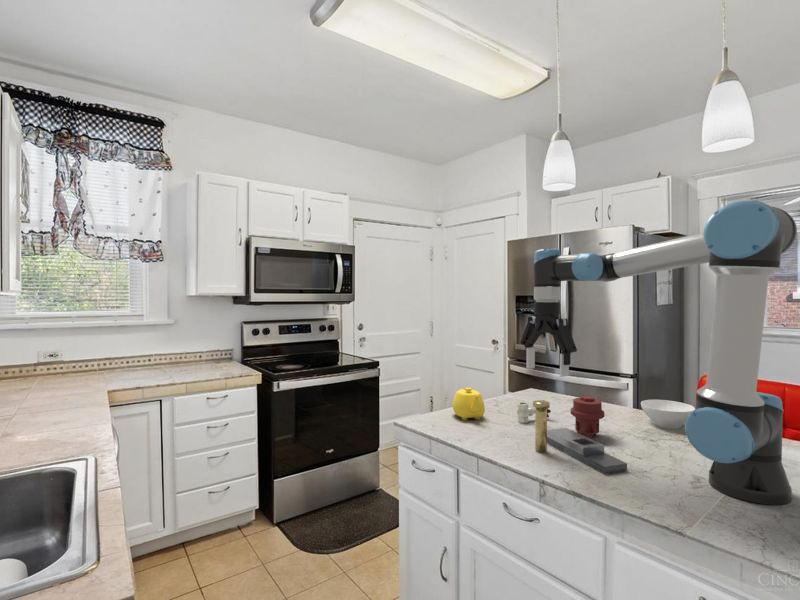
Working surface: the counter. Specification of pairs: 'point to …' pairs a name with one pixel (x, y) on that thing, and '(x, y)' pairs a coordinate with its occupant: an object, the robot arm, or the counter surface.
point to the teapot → (468, 404)
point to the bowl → (667, 412)
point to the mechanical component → (587, 415)
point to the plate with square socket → (585, 450)
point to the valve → (526, 412)
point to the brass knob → (541, 425)
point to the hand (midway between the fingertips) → (546, 372)
